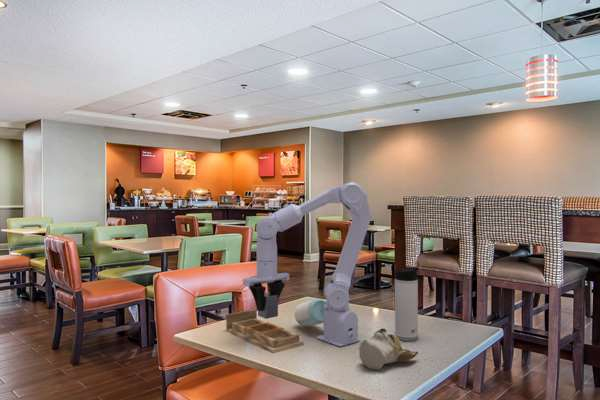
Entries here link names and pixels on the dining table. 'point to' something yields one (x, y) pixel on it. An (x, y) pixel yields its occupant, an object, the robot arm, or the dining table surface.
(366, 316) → the dining table surface
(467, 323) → the dining table surface
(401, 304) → the travel mug
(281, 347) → the tray
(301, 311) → the can
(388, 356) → the ceramic sculpture
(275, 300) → the grey block
